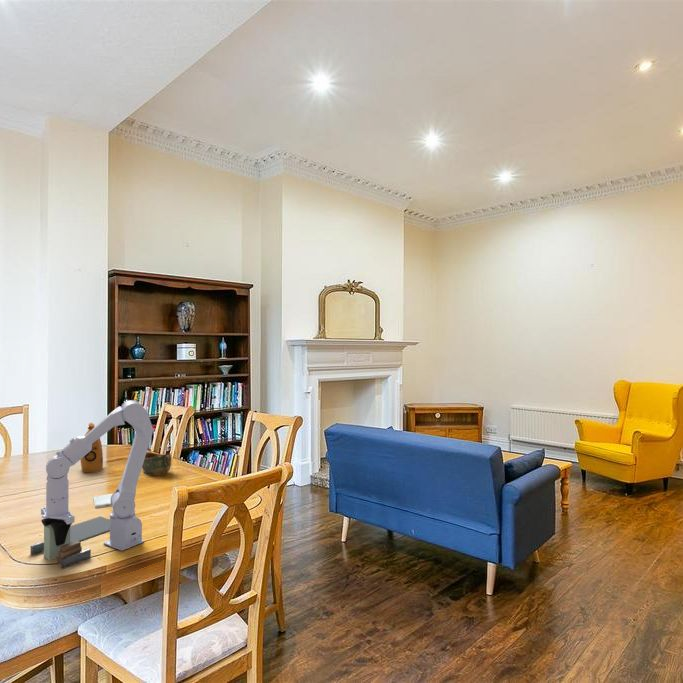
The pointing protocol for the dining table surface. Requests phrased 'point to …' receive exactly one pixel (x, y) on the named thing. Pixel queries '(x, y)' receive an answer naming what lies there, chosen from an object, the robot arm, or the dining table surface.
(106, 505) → the hard drive
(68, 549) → the offcut stack
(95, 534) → the slate mat
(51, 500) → the robot arm
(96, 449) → the coffee package
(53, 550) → the tall pastel pillar
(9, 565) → the dining table surface
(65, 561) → the offcut rack
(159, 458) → the dark green bowl
